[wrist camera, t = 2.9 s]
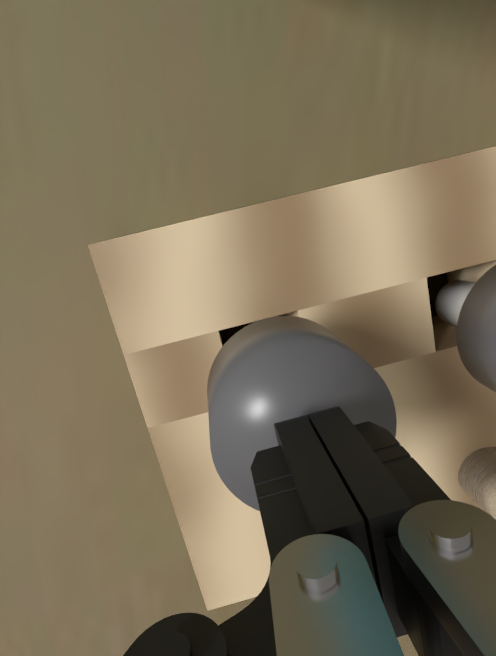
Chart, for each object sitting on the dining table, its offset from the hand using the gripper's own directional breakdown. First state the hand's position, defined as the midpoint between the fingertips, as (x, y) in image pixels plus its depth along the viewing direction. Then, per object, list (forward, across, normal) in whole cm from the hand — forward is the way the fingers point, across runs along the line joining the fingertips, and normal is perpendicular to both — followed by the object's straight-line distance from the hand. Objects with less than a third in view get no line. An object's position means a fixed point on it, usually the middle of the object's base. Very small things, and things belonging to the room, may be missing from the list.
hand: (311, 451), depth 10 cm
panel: (+11, -8, +2) cm, 14 cm away
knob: (+7, 0, 0) cm, 7 cm away
